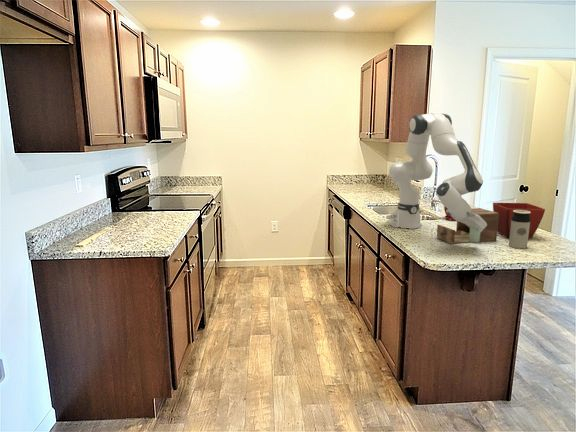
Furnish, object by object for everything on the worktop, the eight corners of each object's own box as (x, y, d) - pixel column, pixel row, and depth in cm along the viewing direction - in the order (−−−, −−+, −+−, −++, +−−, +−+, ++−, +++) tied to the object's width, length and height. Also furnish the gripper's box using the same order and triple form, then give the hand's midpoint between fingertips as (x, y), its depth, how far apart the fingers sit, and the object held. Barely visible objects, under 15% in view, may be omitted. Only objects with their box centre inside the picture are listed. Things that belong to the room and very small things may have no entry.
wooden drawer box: (455, 236, 218) (458, 209, 215) (477, 234, 222) (480, 208, 219) (473, 243, 205) (476, 214, 202) (496, 241, 209) (499, 213, 205)
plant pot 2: (523, 231, 228) (527, 202, 225) (542, 240, 210) (546, 209, 206) (489, 231, 229) (492, 202, 226) (504, 240, 211) (508, 208, 207)
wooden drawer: (433, 237, 214) (434, 225, 213) (459, 235, 218) (460, 223, 217) (448, 244, 202) (449, 230, 201) (475, 241, 206) (476, 228, 204)
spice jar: (466, 239, 198) (468, 218, 195) (474, 239, 199) (477, 217, 196) (473, 242, 193) (475, 220, 190) (481, 241, 194) (484, 219, 192)
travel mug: (508, 243, 204) (512, 209, 200) (526, 245, 200) (531, 210, 196) (508, 247, 197) (512, 211, 194) (526, 249, 193) (531, 213, 190)
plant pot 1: (459, 217, 266) (460, 199, 264) (468, 221, 254) (470, 203, 251) (439, 217, 266) (441, 199, 264) (448, 221, 253) (449, 203, 251)
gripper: (480, 210, 180) (496, 229, 185) (452, 201, 200) (467, 219, 204) (471, 220, 180) (487, 239, 185) (443, 211, 200) (458, 228, 204)
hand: (476, 229), depth 195 cm, fingers closed on spice jar, 5 cm apart
